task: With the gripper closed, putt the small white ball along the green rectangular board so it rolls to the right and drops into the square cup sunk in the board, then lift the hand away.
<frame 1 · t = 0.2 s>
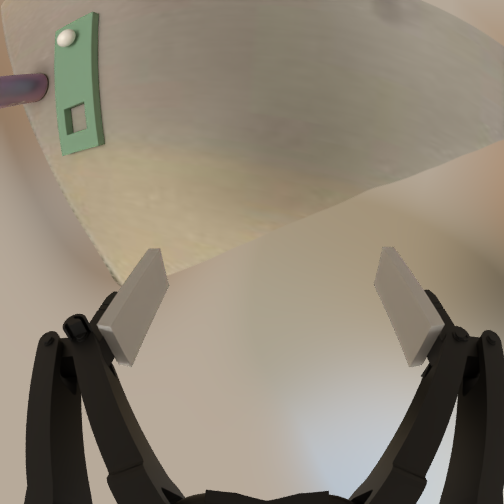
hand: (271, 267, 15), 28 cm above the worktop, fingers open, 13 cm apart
beverage can: (40, 87, 32), on the worktop
white ball: (66, 38, 25), point 4 cm above the worktop, touching green rectangular board
green rectangular board: (78, 82, 32), on the worktop
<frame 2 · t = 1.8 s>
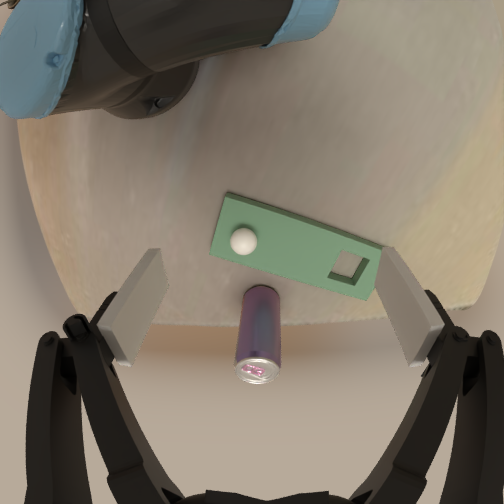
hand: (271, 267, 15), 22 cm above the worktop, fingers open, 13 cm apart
beverage can: (261, 297, 45), on the worktop
mate gourd: (43, 1, 18), on the worktop
white ball: (243, 241, 35), point 4 cm above the worktop, touching green rectangular board
green rectangular board: (304, 248, 39), on the worktop
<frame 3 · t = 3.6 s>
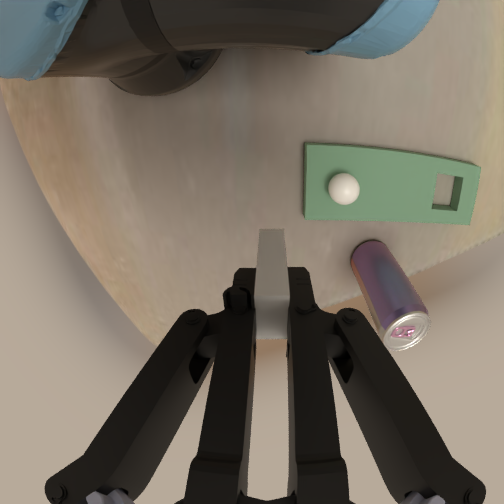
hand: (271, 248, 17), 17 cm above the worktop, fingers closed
beverage can: (368, 256, 36), on the worktop
white ball: (344, 188, 28), point 4 cm above the worktop, touching green rectangular board
green rectangular board: (400, 183, 30), on the worktop
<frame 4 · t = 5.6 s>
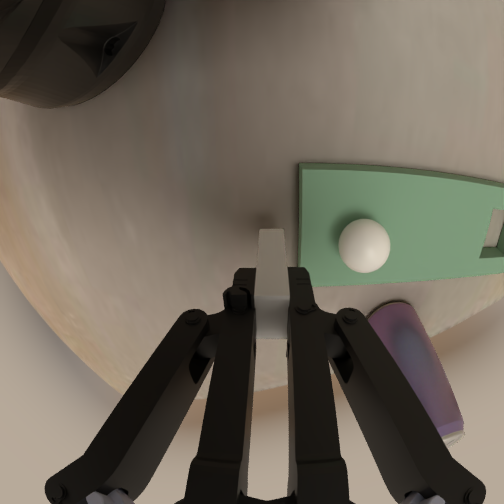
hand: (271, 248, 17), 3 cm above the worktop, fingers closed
beverage can: (388, 319, 25), on the worktop
white ball: (364, 245, 16), point 4 cm above the worktop, touching green rectangular board
green rectangular board: (442, 223, 19), on the worktop
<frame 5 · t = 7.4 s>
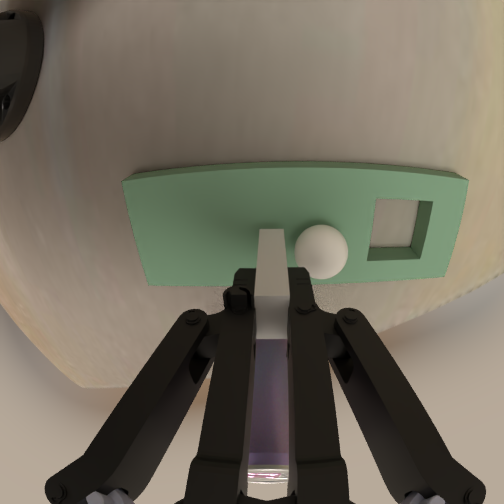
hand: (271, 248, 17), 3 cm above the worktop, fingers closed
beverage can: (270, 324, 26), on the worktop
white ball: (321, 251, 17), point 4 cm above the worktop, tilted 52°, touching green rectangular board
green rectangular board: (307, 220, 20), on the worktop
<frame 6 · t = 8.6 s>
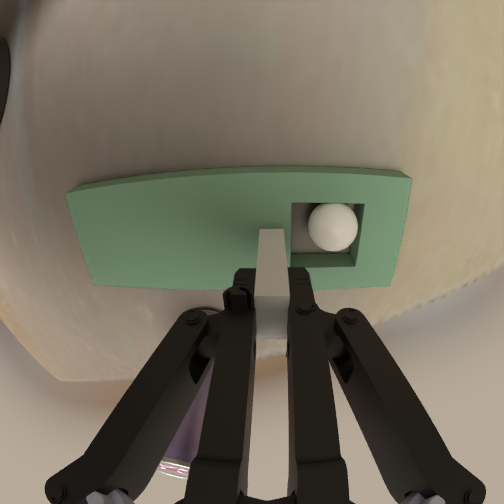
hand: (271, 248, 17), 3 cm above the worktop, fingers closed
beverage can: (209, 326, 26), on the worktop
white ball: (333, 225, 18), point 2 cm above the worktop, tilted 106°
green rectangular board: (229, 226, 20), on the worktop
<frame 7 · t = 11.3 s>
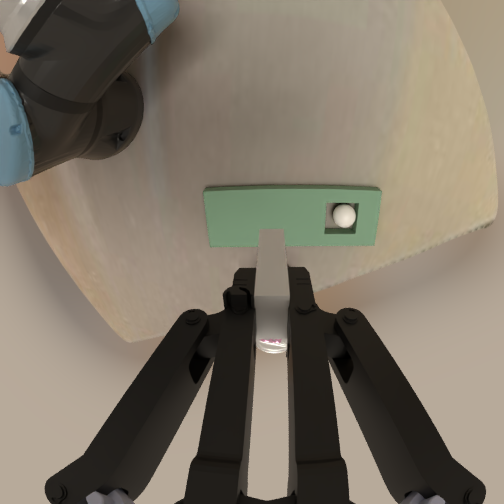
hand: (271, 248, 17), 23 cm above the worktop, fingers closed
beverage can: (274, 273, 46), on the worktop
white ball: (344, 215, 38), point 2 cm above the worktop, tilted 118°
green rectangular board: (293, 213, 41), on the worktop
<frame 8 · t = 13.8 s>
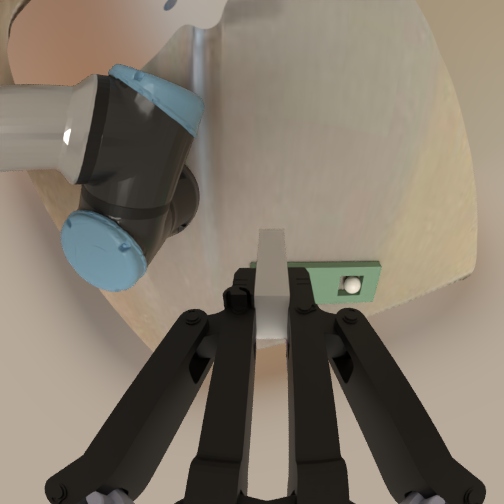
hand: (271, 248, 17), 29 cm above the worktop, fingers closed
white ball: (352, 284, 52), point 2 cm above the worktop, tilted 128°
green rectangular board: (315, 280, 54), on the worktop
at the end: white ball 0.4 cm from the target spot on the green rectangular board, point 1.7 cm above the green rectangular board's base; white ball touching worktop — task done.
